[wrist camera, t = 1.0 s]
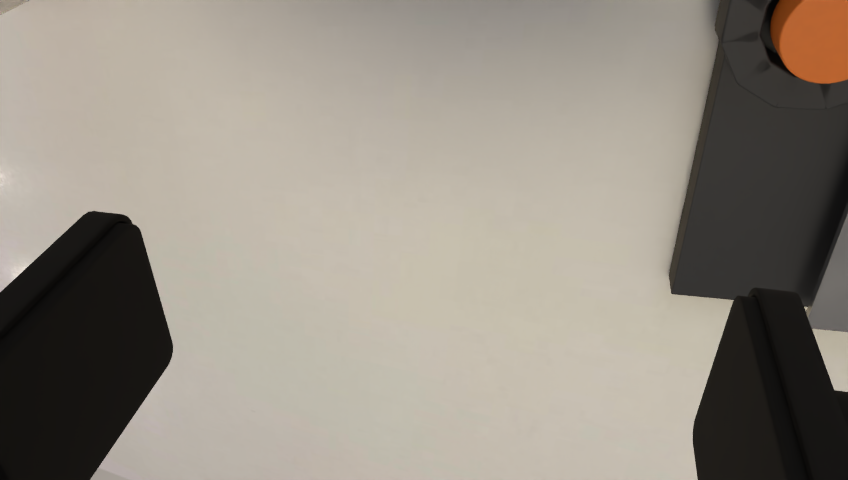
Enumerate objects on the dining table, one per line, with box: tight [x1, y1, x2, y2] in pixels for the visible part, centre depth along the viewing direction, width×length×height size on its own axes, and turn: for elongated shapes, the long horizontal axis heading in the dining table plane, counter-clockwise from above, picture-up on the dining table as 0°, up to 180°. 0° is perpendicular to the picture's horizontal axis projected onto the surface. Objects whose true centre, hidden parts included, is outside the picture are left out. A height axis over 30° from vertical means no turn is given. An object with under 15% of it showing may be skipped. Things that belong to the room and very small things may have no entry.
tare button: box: [770, 0, 848, 84], centre depth 22 cm, size 3×3×2 cm
